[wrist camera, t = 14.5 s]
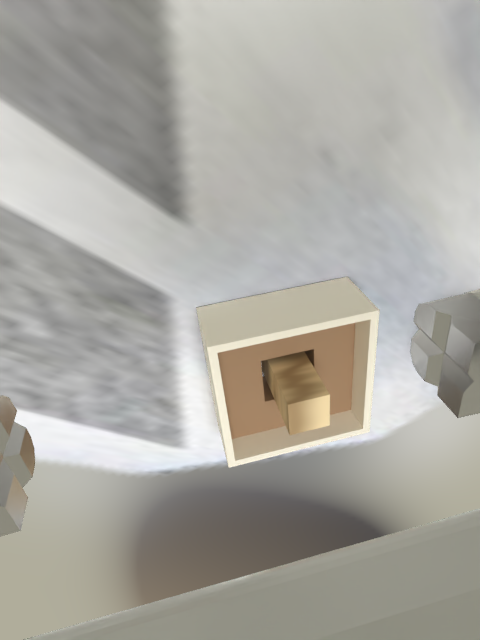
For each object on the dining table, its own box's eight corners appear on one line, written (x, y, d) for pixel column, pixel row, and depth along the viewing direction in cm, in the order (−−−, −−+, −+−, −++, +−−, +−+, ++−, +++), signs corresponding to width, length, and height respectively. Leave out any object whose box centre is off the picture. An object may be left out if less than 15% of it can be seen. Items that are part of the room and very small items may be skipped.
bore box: (347, 276, 46) (379, 310, 40) (343, 390, 54) (369, 431, 49) (196, 307, 44) (207, 347, 38) (217, 421, 52) (228, 467, 47)
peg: (294, 334, 48) (329, 394, 40) (295, 363, 50) (329, 425, 42) (259, 342, 48) (287, 404, 39) (262, 370, 50) (289, 435, 42)
